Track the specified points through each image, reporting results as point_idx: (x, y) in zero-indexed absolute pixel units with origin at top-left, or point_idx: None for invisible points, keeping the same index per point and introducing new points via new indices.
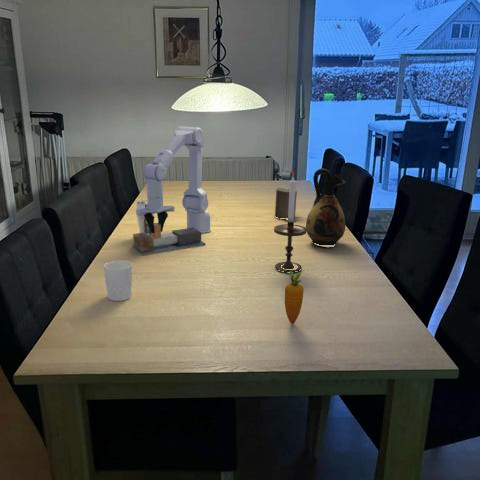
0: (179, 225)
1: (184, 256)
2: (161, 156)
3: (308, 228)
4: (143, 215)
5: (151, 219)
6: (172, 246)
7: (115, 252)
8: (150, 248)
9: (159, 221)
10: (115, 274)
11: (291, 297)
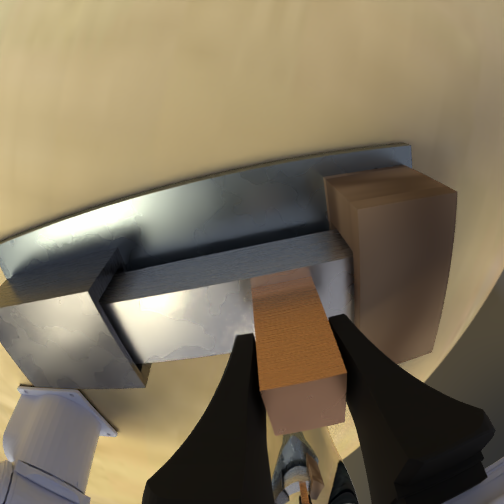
0: (137, 460)
1: (118, 40)
2: None
3: None
4: (336, 500)
5: (433, 417)
6: (166, 232)
7: (483, 245)
8: (354, 178)
9: (261, 440)
10: None
11: None
